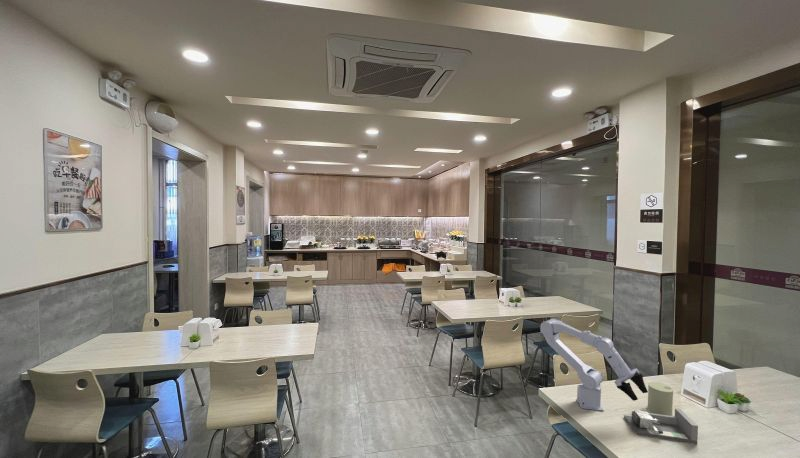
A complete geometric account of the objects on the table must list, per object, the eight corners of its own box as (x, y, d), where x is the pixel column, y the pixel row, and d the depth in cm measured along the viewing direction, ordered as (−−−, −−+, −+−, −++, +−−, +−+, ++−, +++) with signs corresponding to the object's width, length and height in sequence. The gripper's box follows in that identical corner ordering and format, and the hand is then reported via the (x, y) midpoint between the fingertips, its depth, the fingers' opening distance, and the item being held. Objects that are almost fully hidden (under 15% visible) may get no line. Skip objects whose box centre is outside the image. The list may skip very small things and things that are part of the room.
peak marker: (659, 433, 133) (659, 431, 133) (655, 428, 137) (655, 426, 136) (662, 434, 133) (663, 431, 133) (658, 429, 136) (658, 426, 136)
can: (677, 418, 147) (678, 392, 147) (653, 416, 149) (654, 389, 149) (665, 407, 156) (666, 382, 156) (643, 404, 158) (644, 380, 158)
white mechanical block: (641, 432, 135) (641, 422, 135) (630, 418, 144) (631, 409, 144) (666, 436, 133) (667, 426, 133) (655, 422, 142) (655, 412, 142)
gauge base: (636, 434, 136) (636, 417, 136) (624, 417, 148) (624, 401, 147) (697, 444, 131) (698, 425, 131) (679, 425, 142) (680, 409, 142)
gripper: (615, 368, 142) (638, 401, 136) (635, 356, 149) (657, 387, 142) (603, 372, 148) (625, 404, 142) (622, 360, 154) (644, 390, 148)
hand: (640, 396), depth 142 cm, fingers open, 7 cm apart
